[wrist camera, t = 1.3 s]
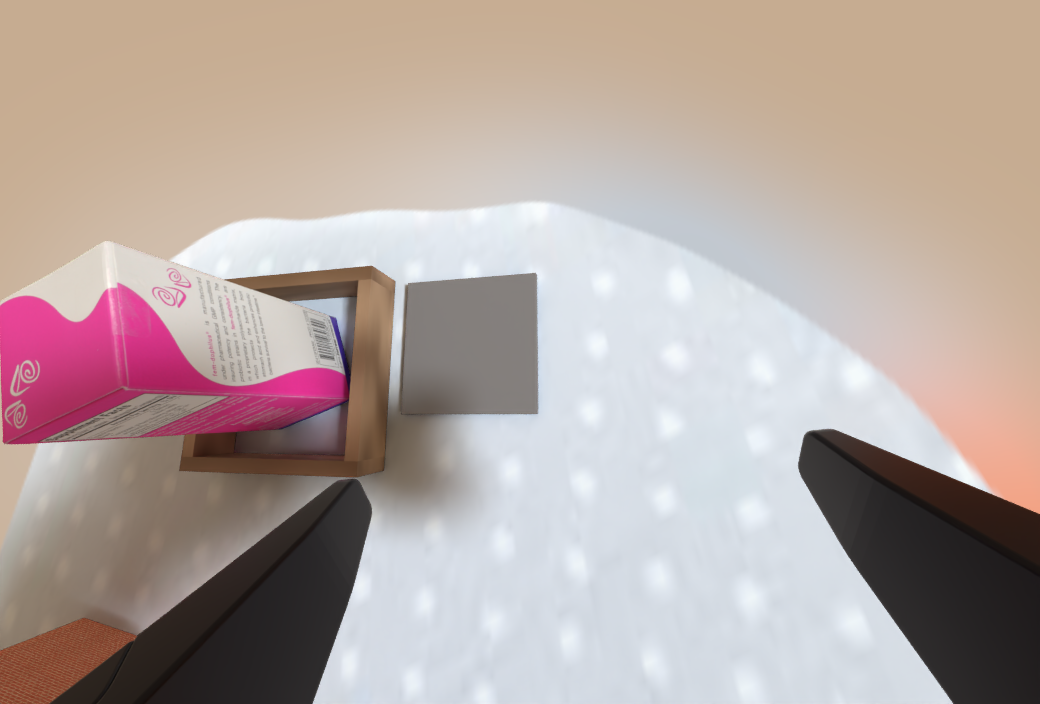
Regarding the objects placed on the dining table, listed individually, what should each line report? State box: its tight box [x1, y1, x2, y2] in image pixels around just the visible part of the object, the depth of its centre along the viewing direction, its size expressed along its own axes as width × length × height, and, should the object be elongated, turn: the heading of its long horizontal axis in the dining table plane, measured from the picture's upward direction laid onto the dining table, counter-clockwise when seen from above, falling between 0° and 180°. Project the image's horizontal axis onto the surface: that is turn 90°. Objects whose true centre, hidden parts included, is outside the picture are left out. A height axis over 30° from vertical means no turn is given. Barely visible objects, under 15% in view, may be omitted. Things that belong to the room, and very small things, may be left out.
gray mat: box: [401, 273, 538, 414], centre depth 21 cm, size 8×8×1 cm
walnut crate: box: [179, 266, 395, 477], centre depth 22 cm, size 12×12×2 cm
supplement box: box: [0, 241, 351, 444], centre depth 18 cm, size 6×6×12 cm
